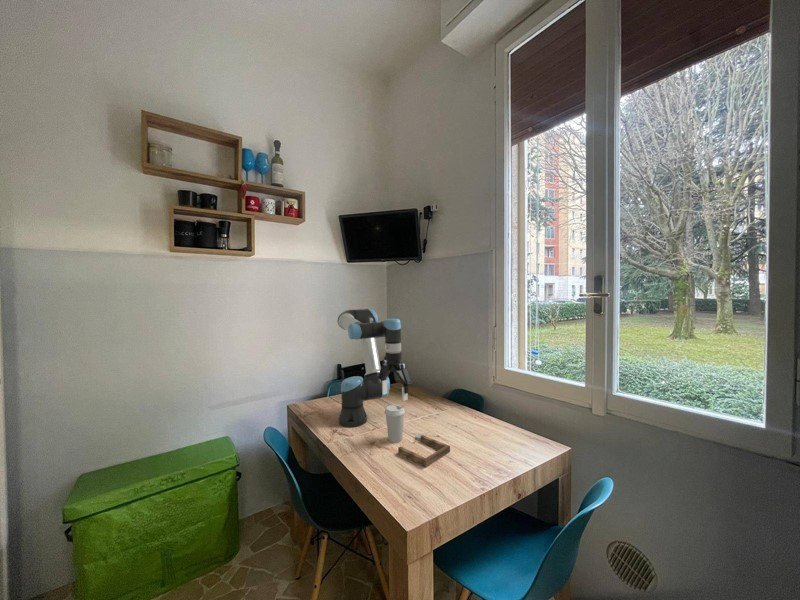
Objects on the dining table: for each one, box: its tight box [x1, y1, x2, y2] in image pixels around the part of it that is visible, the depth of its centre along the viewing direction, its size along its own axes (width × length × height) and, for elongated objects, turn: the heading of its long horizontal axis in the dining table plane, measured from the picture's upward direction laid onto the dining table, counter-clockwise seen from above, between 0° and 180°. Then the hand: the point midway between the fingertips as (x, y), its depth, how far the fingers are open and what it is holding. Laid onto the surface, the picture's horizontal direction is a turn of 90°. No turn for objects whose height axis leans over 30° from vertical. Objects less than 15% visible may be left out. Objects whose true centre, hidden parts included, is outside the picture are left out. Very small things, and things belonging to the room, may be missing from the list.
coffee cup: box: [384, 404, 406, 444], centre depth 143 cm, size 10×10×15 cm
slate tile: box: [414, 433, 427, 441], centre depth 144 cm, size 4×4×1 cm
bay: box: [397, 434, 451, 468], centre depth 131 cm, size 16×16×2 cm
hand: (394, 397), depth 143 cm, fingers open, 13 cm apart
